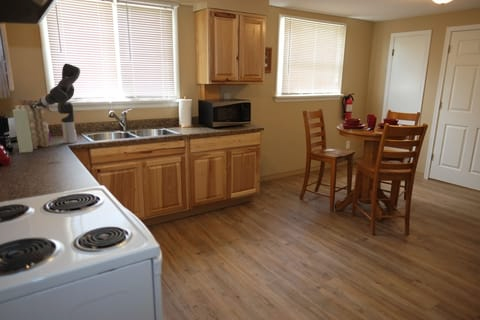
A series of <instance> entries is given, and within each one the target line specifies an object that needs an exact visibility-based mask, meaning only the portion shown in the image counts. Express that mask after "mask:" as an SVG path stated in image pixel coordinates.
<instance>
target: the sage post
mask: <svg viewBox="0 0 480 320" xmlns="http://www.w3.org/2000/svg"><path fill="white" fill-rule="evenodd" d="M12 113H13V114H12V115H13V121H14V127H15V133H16V141H17V145H18V151H19V154H22V152H23V153H32V152H33V151H34V149H33V147H32V140H31V133H30V127H29V120H28V114H27V109H19V110H15V109H12Z"/></svg>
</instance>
